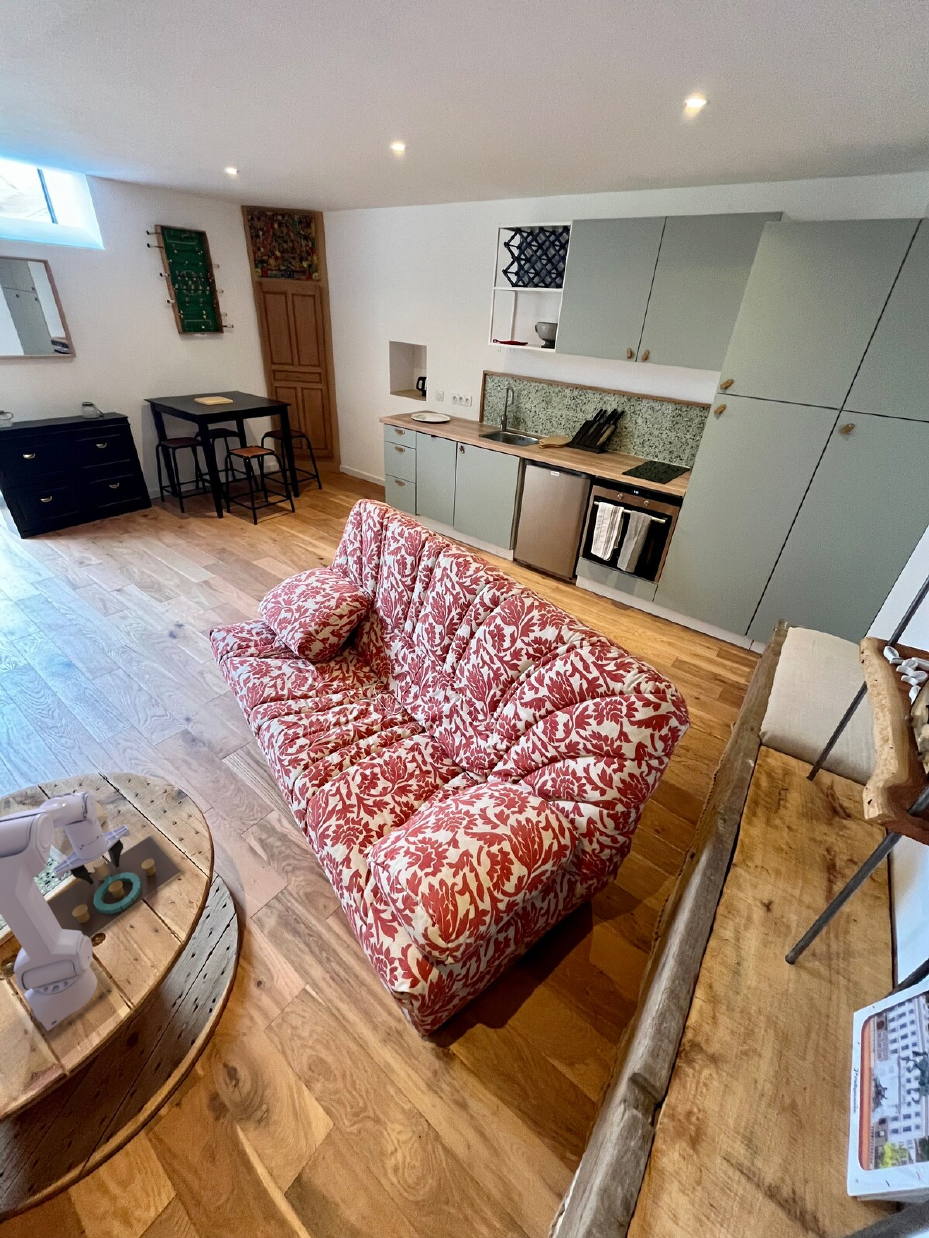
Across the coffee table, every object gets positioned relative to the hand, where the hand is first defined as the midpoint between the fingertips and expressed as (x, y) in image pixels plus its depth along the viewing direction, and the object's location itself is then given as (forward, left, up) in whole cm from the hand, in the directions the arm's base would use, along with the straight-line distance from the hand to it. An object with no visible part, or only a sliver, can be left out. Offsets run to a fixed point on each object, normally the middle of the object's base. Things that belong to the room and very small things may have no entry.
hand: (103, 872), depth 117 cm
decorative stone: (+4, +19, -2) cm, 19 cm away
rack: (0, -5, -2) cm, 5 cm away
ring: (0, -5, -1) cm, 5 cm away
